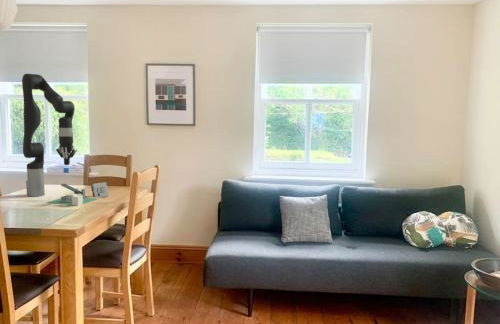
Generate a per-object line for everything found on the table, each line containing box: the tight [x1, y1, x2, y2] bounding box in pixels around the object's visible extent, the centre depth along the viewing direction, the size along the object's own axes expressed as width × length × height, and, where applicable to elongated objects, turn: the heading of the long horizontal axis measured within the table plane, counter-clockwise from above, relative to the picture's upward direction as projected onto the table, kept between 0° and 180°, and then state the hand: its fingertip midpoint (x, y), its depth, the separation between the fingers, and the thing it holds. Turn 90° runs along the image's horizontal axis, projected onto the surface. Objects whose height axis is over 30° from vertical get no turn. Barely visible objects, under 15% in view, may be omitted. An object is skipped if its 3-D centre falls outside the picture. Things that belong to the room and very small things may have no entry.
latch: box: [65, 193, 84, 207], centre depth 226 cm, size 8×4×6 cm, turn 76°
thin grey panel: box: [60, 183, 81, 195], centre depth 234 cm, size 16×3×1 cm, turn 166°
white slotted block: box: [60, 195, 84, 203], centre depth 234 cm, size 9×9×3 cm
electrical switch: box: [90, 181, 109, 199], centre depth 252 cm, size 9×5×9 cm, turn 141°
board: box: [45, 187, 98, 206], centre depth 235 cm, size 22×19×7 cm
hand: (67, 164), depth 236 cm, fingers closed
